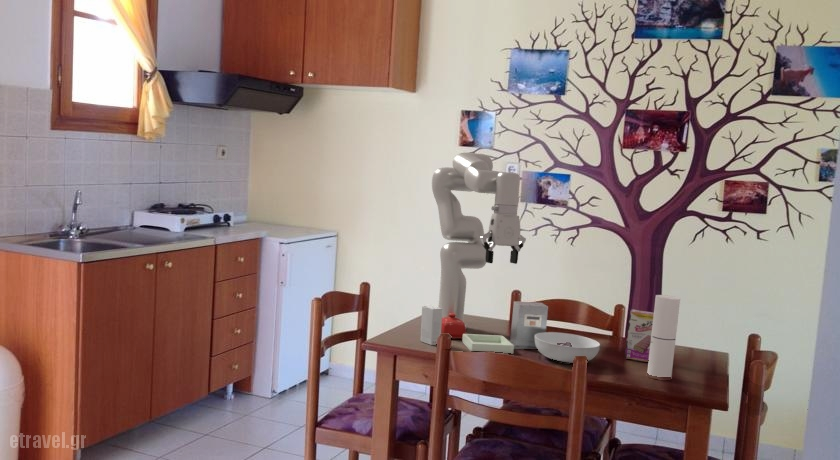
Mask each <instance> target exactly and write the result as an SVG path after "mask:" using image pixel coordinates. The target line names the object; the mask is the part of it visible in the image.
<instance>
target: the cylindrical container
mask: <svg viewBox="0 0 840 460" xmlns="http://www.w3.org/2000/svg"><path fill="white" fill-rule="evenodd" d="M680 305H681V298H680V297H678V296H674V295H666V294H655V299H654V308H653V313H654V316H653V325H652V334H651V343H650V352H649V361H648V363H647V372H646V374H647V373H648V374H649V375H652V376H657V377H671V378H672V377H673V376H672V375H673V366H674V357H675V356H674V355H675V349H676V339H677V332H678V331H677V330H678V320H679V314H680Z"/></svg>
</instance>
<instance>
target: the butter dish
mask: <svg viewBox="0 0 840 460" xmlns="http://www.w3.org/2000/svg"><path fill="white" fill-rule="evenodd" d="M455 316H456V314H455V313H449V317H444V318H442V324H441V333H449V334H450V335H451V336H452V339H453V340H457V339H459V340H462V338H463V334H467V332H466V330H467V328H466V329H465V324H466V323H465V322H464V320H463V321H462V320H460V319H458V318H455Z"/></svg>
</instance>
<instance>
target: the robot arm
mask: <svg viewBox="0 0 840 460" xmlns="http://www.w3.org/2000/svg"><path fill="white" fill-rule="evenodd" d="M493 165H494V162H493V160H492V158H491V156H489V155H487V154H484V153H475V152H474V153H473V152H461V153H458V154H457V155H455V157H453V160H452V167H440V168H437V169H436V170H435V171H434V172H433V174H432V177H431V189H432V190H431V191H432V194H433V198H434V199H435V203H436V205H437V210H438V211H437V212H438V219H439V224H440V231H441V232H440V233H441V235H442V237H443V238H444V239H445V240H447V241H449V242H446V243H445V244H443V245H442V247H441V248H440V254H439V258H440V282H439V283H440V284H439V295H438V304H437V305H438V308H441V309H442V318H444V317H449V313H455V314H456V316H455V318H458V319H460V320H462V321H463V322H464V316H465V315H464V314H465V313H464V312H465V304H466V303H465V301H466V291H467V290H466V289H467V278H466V275H465V274H464V272H463V269H469V270H473V269H477V270H478V269H482V268H484V267H485V266H486V264H493V262H494V249H495V247H496V246H503V247H504V246H506V247H510V248H511V249H512V250H511V251H510V256H509V257H510V258H509V263H510V264H514V265H517V264H518V260H519V252H520V251H521V249H523V247H524V244H525V242H526V240H527V238H526V237H524V236H523V235H522V234H521V220H520V216H519V215H518V209H519V196H520V195H519V194H520V182H521V176H520V174H519V173H516V172H509V171H497V170H496V171H495V170H494V169H493V168H494V166H493ZM452 191H455V192H457V191H458V192H474V193H478V194H479V193H480V194H494V196H495V197H494V204H493V205H492V206H491V211H493V213H492V214H491V217H490V220H489V221H490V222H489V225H488V231H487V232H486V233H485V231H484V226H483V223H482V221H481V219H480V218H478V217H477V216H475V215H474V216H472V215H464V214H463V212H462V206H461V203H460V200H459V199H458V197H456V195H455V194H453V192H452ZM450 241H451V242H450ZM464 324H465V329H466V330H467V328H468V327H467V326H468V325H467V324H466V323H464Z"/></svg>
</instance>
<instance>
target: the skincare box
mask: <svg viewBox="0 0 840 460" xmlns="http://www.w3.org/2000/svg"><path fill="white" fill-rule="evenodd" d="M441 324H442V309H441V308H438V307H437V306H434V305H423V306H421V325H420V342H421V343H425V344H427V345H431V346H437V345H436V341H437V338H438V337H439V335H440V334H441Z"/></svg>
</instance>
